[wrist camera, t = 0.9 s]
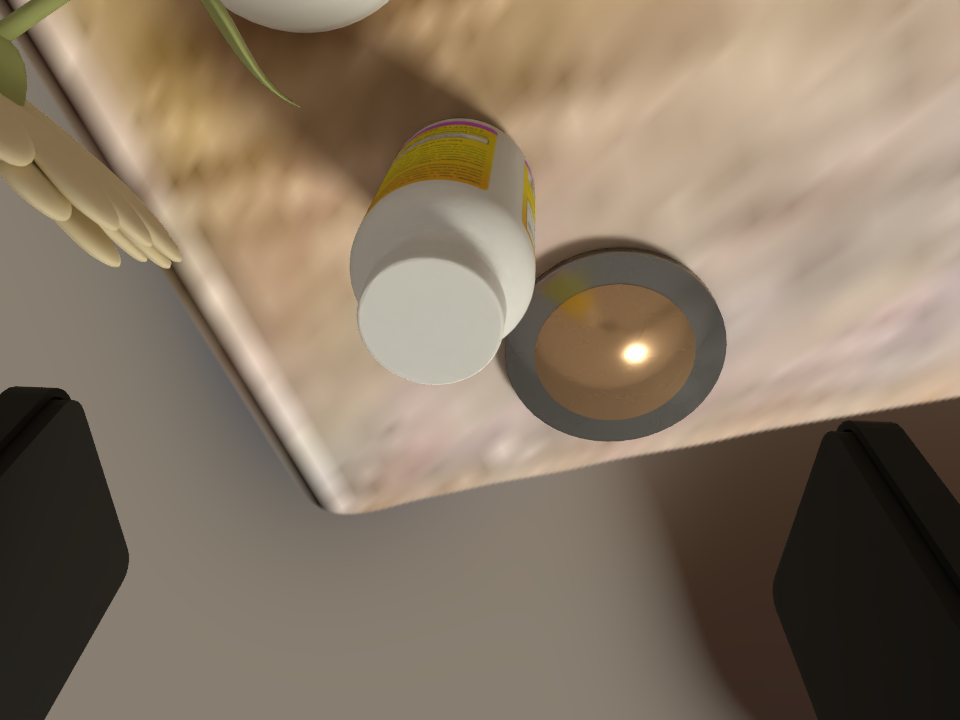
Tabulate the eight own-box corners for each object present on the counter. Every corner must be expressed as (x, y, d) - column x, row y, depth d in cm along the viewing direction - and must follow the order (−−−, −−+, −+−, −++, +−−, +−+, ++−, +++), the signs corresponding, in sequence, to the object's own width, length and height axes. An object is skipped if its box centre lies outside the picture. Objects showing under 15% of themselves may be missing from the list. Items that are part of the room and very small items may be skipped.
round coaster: (708, 223, 34) (712, 230, 33) (734, 411, 39) (738, 421, 39) (480, 277, 36) (478, 285, 35) (534, 448, 42) (534, 458, 41)
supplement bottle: (361, 181, 34) (279, 312, 23) (466, 81, 31) (428, 175, 20) (461, 281, 36) (428, 442, 25) (565, 195, 34) (579, 334, 23)
